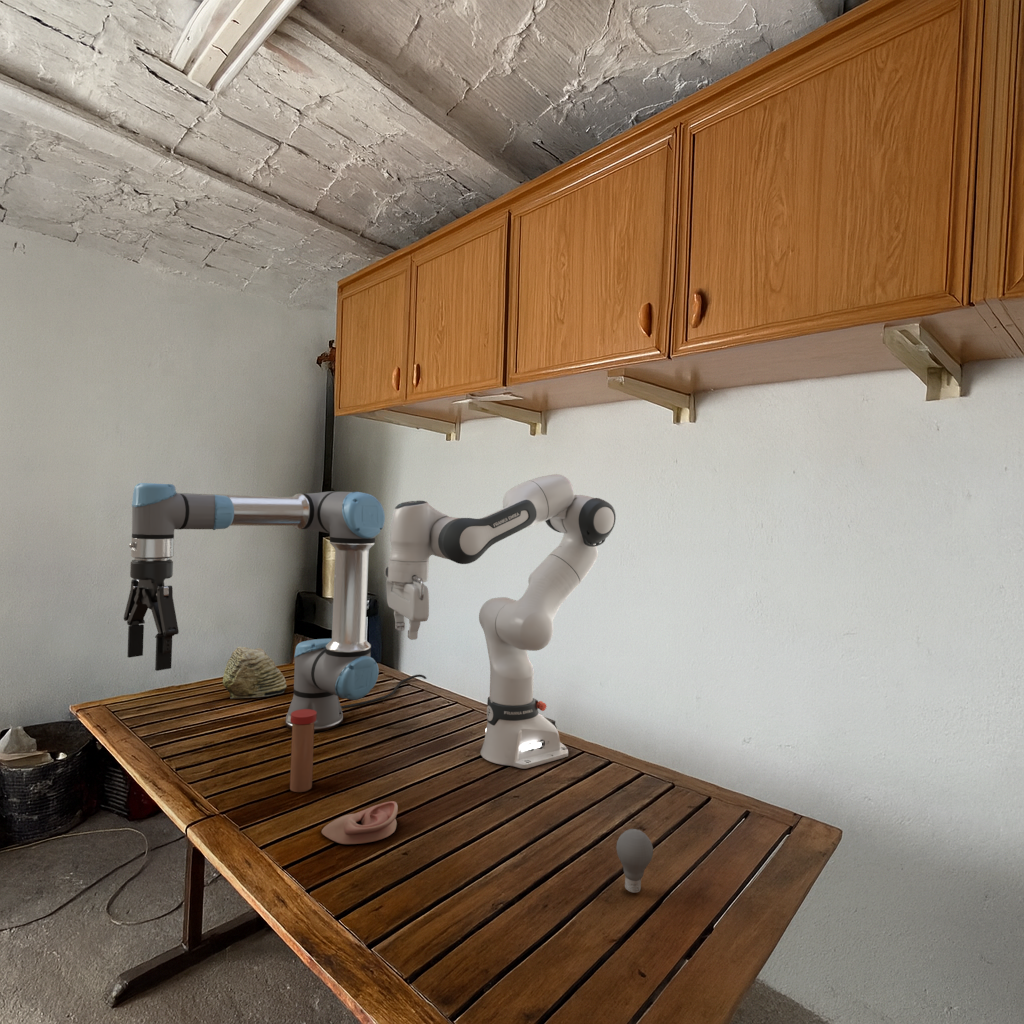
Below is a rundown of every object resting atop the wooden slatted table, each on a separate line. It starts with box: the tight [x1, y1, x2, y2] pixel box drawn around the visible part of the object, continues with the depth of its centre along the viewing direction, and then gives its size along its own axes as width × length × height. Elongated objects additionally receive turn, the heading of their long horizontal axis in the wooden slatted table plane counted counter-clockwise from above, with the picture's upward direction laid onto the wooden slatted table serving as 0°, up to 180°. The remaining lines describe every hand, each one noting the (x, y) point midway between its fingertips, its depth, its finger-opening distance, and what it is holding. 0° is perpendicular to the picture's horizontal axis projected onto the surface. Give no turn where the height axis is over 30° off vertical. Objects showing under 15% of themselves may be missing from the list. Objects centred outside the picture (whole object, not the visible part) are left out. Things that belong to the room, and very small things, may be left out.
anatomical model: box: [321, 800, 399, 845], centre depth 121 cm, size 13×4×12 cm
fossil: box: [222, 646, 288, 699], centre depth 198 cm, size 9×18×15 cm, turn 132°
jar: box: [289, 722, 315, 793], centre depth 137 cm, size 5×5×16 cm
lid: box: [291, 709, 317, 725], centre depth 137 cm, size 5×5×2 cm
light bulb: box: [615, 828, 654, 894], centre depth 106 cm, size 6×6×10 cm
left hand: (148, 662), depth 129 cm, fingers open, 13 cm apart
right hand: (405, 634), depth 142 cm, fingers open, 8 cm apart
